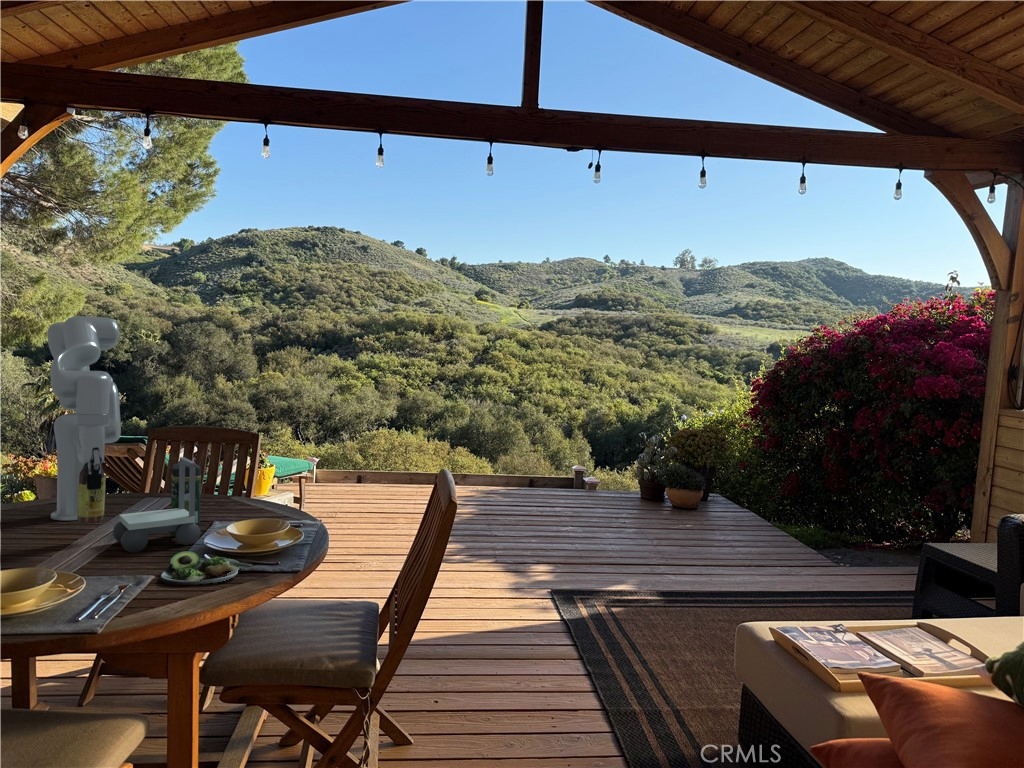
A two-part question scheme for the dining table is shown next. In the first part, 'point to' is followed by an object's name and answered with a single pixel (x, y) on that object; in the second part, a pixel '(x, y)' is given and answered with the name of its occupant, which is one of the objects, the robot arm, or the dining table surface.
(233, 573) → the salad plate
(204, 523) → the dining table surface
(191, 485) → the trolley
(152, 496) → the dining table surface
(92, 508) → the sauce bottle
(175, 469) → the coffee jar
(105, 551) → the dining table surface
